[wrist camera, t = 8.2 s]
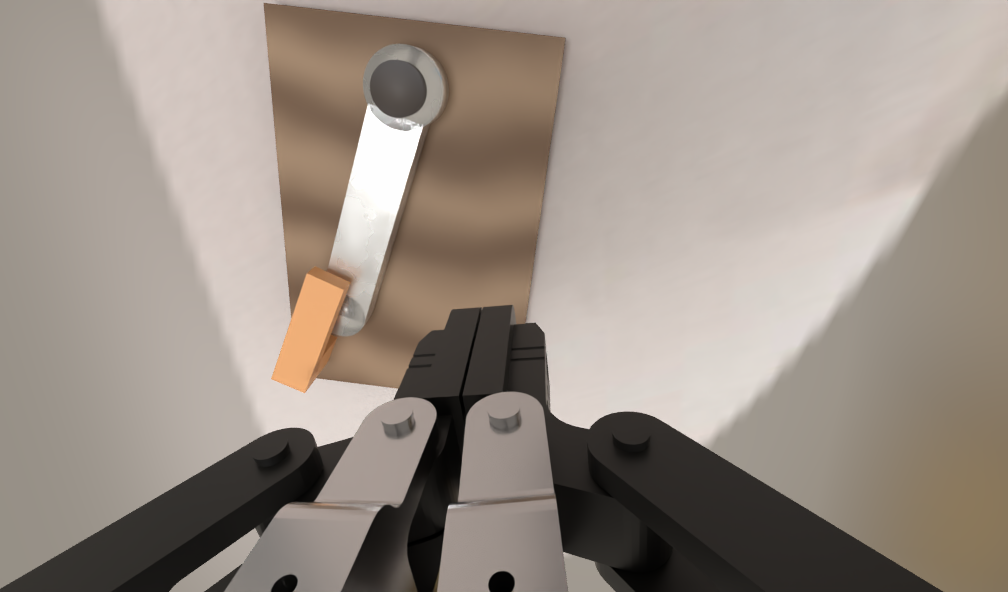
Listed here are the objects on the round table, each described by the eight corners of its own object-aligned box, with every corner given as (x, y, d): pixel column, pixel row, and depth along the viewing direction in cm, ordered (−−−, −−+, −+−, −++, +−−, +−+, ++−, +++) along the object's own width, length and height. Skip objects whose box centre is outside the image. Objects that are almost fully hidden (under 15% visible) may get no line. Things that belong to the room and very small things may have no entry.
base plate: (276, 6, 28) (227, -8, 24) (563, 39, 28) (569, 32, 24) (305, 365, 39) (273, 403, 34) (514, 391, 38) (511, 433, 34)
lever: (385, 33, 27) (374, 29, 25) (458, 64, 27) (453, 63, 26) (317, 310, 35) (305, 323, 33) (375, 331, 35) (366, 345, 33)
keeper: (332, 251, 33) (306, 273, 29) (365, 266, 33) (343, 289, 30) (297, 349, 36) (271, 379, 33) (327, 361, 37) (304, 393, 33)
